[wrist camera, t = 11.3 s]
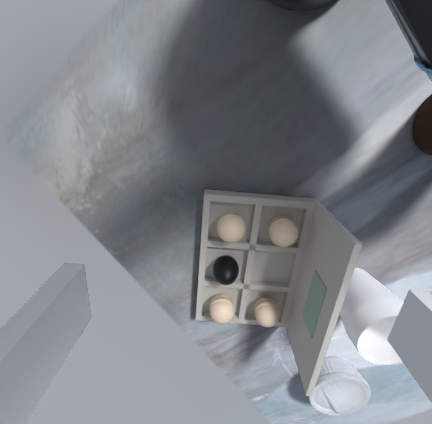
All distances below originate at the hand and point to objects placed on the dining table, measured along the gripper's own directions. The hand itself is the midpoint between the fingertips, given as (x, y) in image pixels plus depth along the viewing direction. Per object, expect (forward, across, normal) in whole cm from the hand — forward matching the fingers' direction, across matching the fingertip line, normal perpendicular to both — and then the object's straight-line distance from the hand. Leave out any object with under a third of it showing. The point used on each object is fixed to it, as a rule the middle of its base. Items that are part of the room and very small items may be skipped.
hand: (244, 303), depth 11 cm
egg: (+28, +1, -16) cm, 32 cm away
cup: (+29, +23, -19) cm, 42 cm away
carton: (+29, +5, -16) cm, 33 cm away
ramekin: (+29, +25, -41) cm, 56 cm away
